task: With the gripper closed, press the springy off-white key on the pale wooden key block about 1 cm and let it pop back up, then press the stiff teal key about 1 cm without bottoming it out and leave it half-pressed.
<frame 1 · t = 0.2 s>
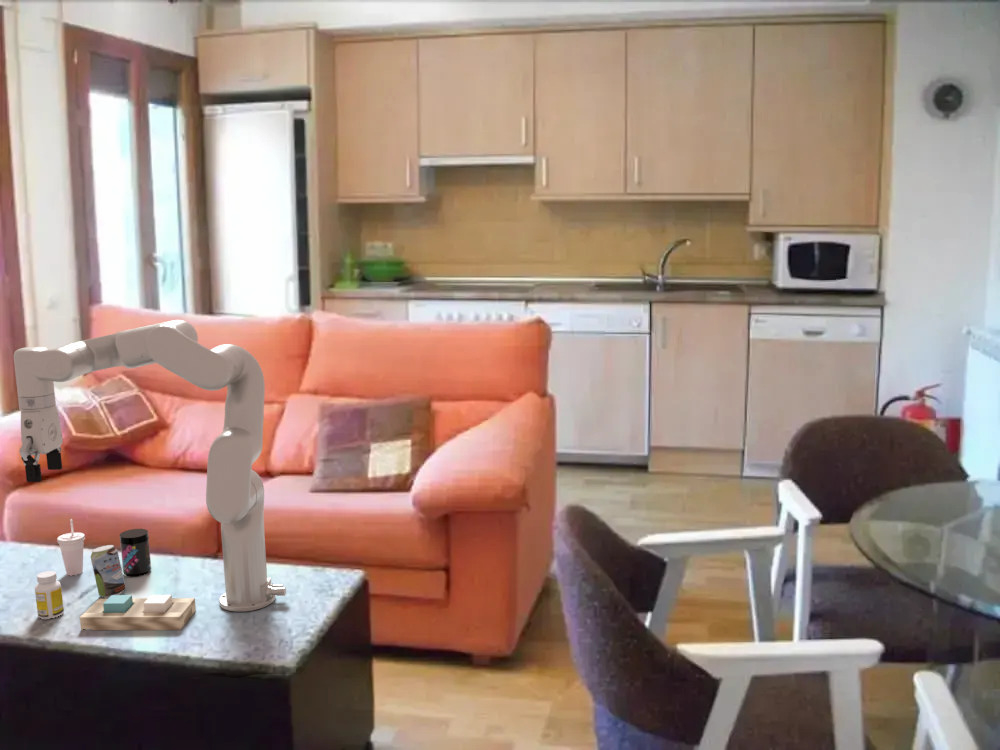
hand: (44, 475, 226), 31 cm above the table, tool pointing down, fingers open, 9 cm apart
teal key: (118, 605, 221), point 4 cm above the table, slide at 0.0 cm
supplement container: (137, 573, 249), on the table
smoothie: (74, 573, 250), on the table
white key: (158, 605, 220), point 3 cm above the table, slide at 0.0 cm
beverage can: (110, 595, 235), on the table
key block: (139, 620, 221), on the table
supplement bottle: (51, 615, 225), on the table
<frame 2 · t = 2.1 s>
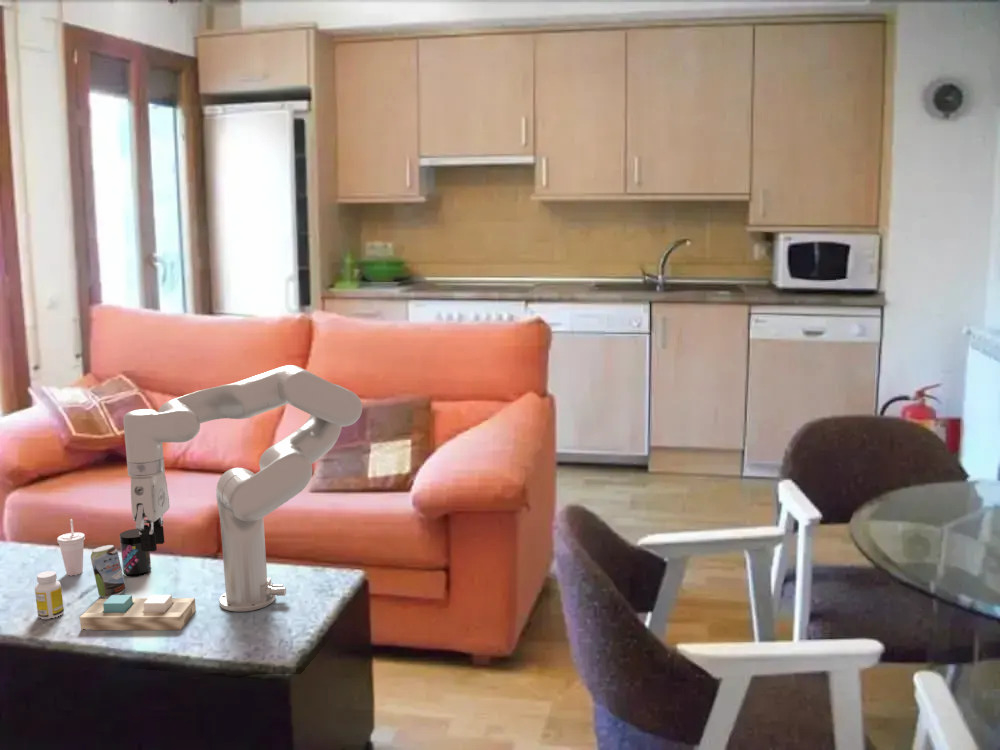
hand: (153, 546, 218), 17 cm above the table, tool pointing down, fingers open, 3 cm apart
nothing on the table moved.
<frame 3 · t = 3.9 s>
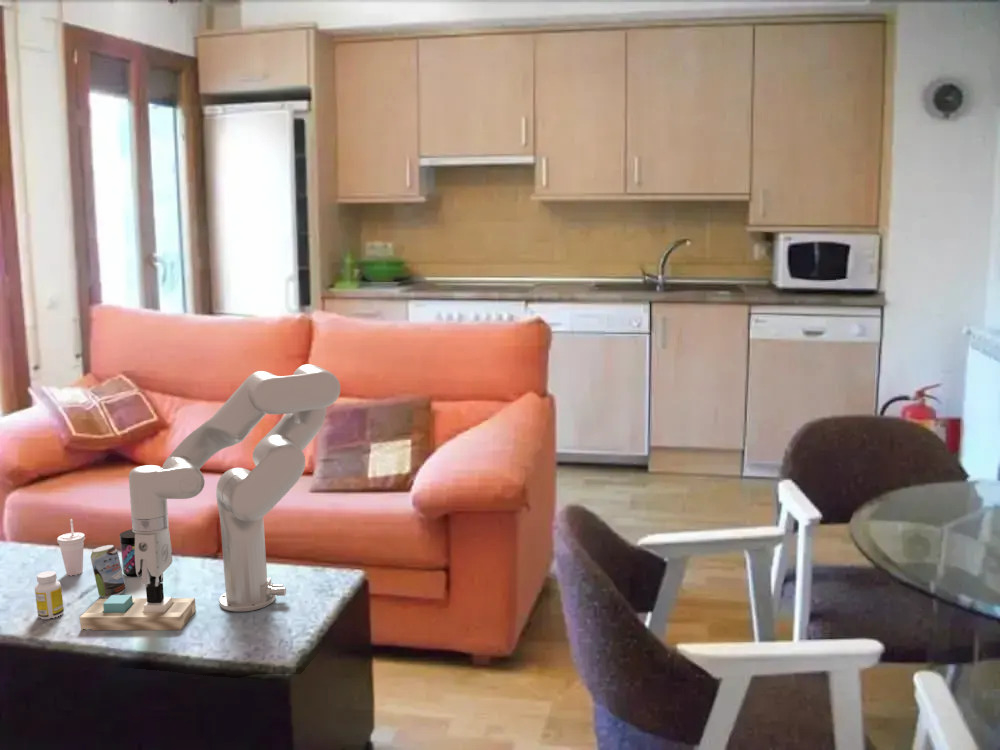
hand: (155, 601, 220), 5 cm above the table, tool pointing down, fingers closed
white key: (158, 607, 220), point 3 cm above the table, slide at 0.5 cm, touching gripper
everything else where it was.
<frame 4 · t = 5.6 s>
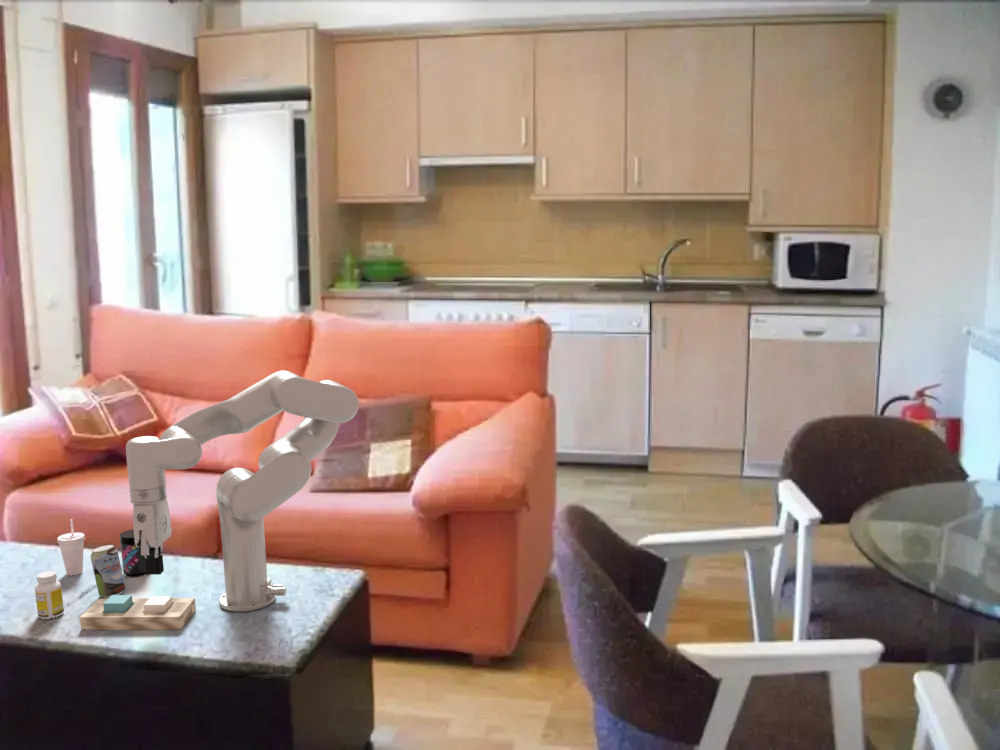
hand: (155, 573, 219), 11 cm above the table, tool pointing down, fingers closed
white key: (158, 606, 220), point 3 cm above the table, slide at 0.4 cm
everything else where it was.
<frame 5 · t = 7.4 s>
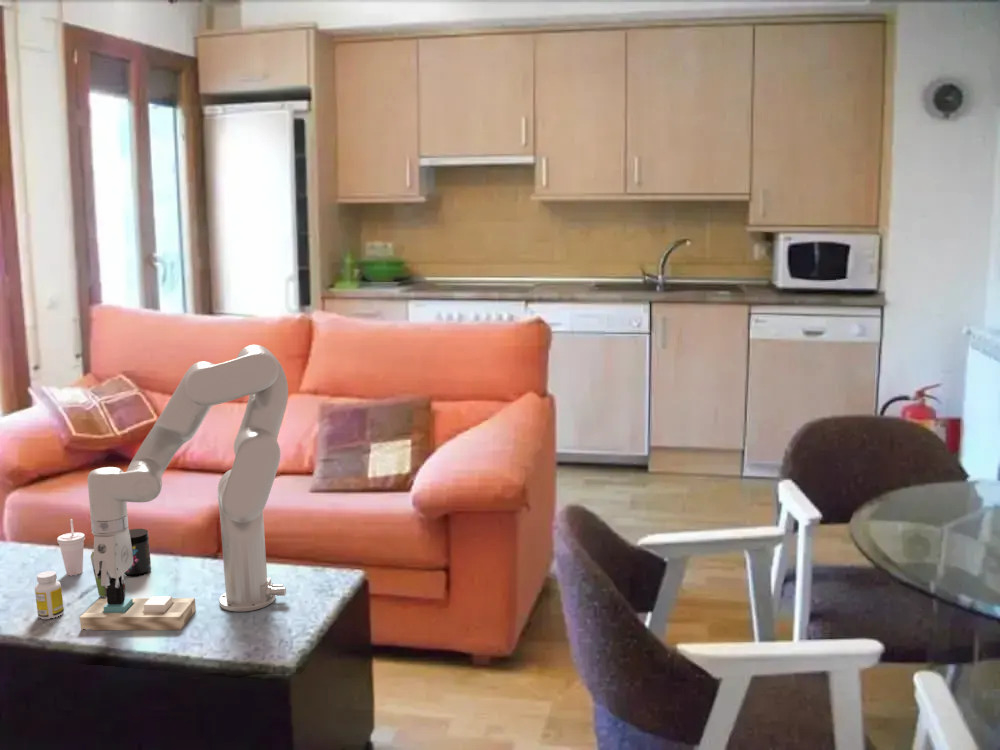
hand: (116, 602, 220), 4 cm above the table, tool pointing down, fingers closed
teal key: (118, 608, 221), point 3 cm above the table, slide at 0.8 cm, touching gripper
everything else where it was.
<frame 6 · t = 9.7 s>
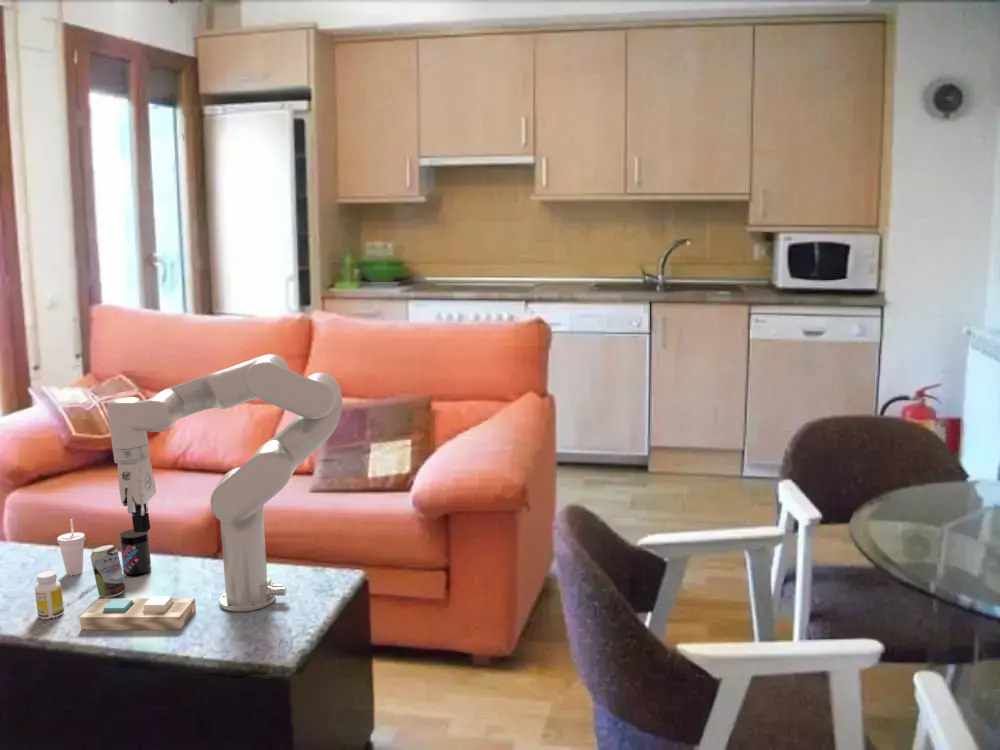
hand: (142, 530, 225), 18 cm above the table, tool pointing down, fingers closed
teal key: (118, 610, 221), point 2 cm above the table, slide at 1.1 cm
everything else where it was.
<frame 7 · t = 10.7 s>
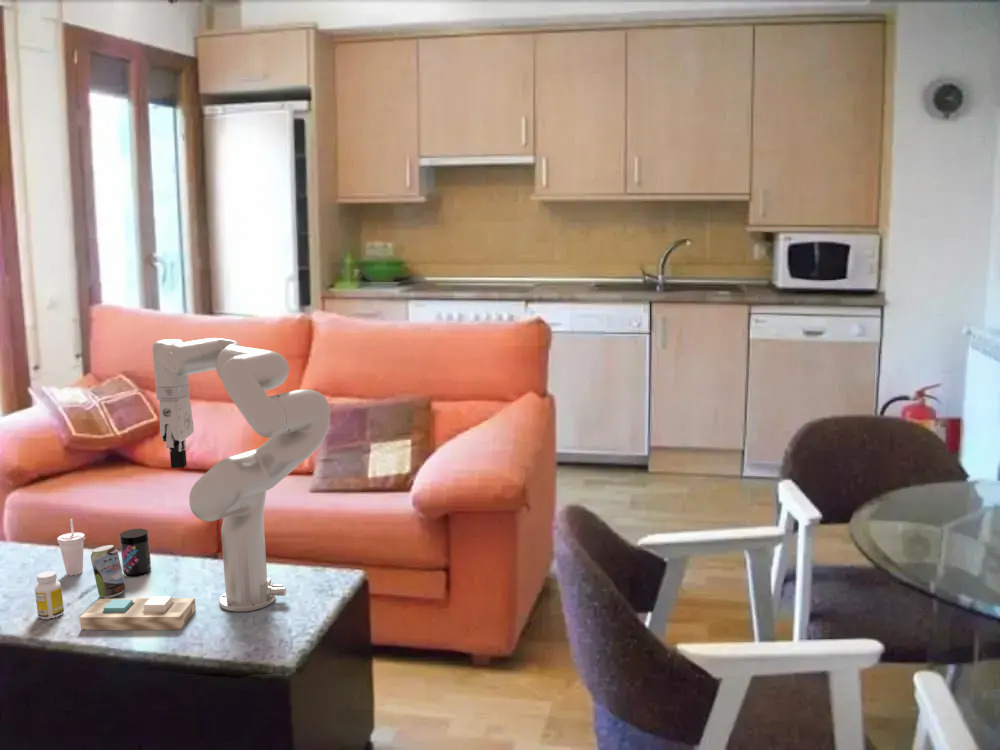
hand: (179, 466, 237), 29 cm above the table, tool pointing down, fingers closed
nothing on the table moved.
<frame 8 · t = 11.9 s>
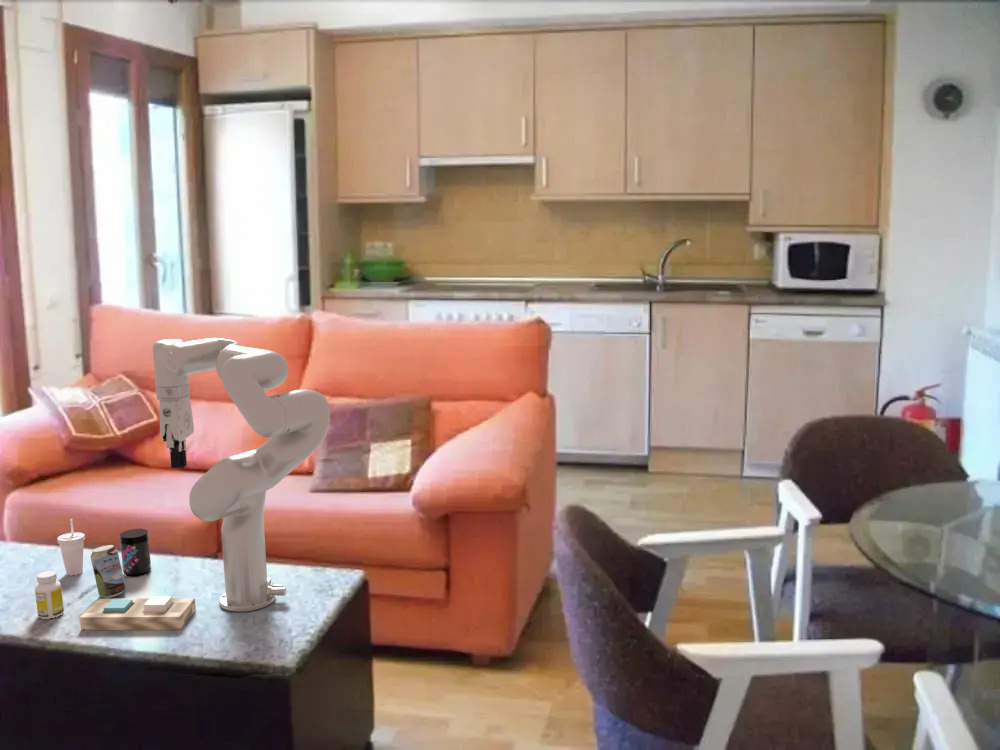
hand: (179, 466, 237), 29 cm above the table, tool pointing down, fingers closed
nothing on the table moved.
at the end: white key slide at 0.4 cm; teal key slide at 1.1 cm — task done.
